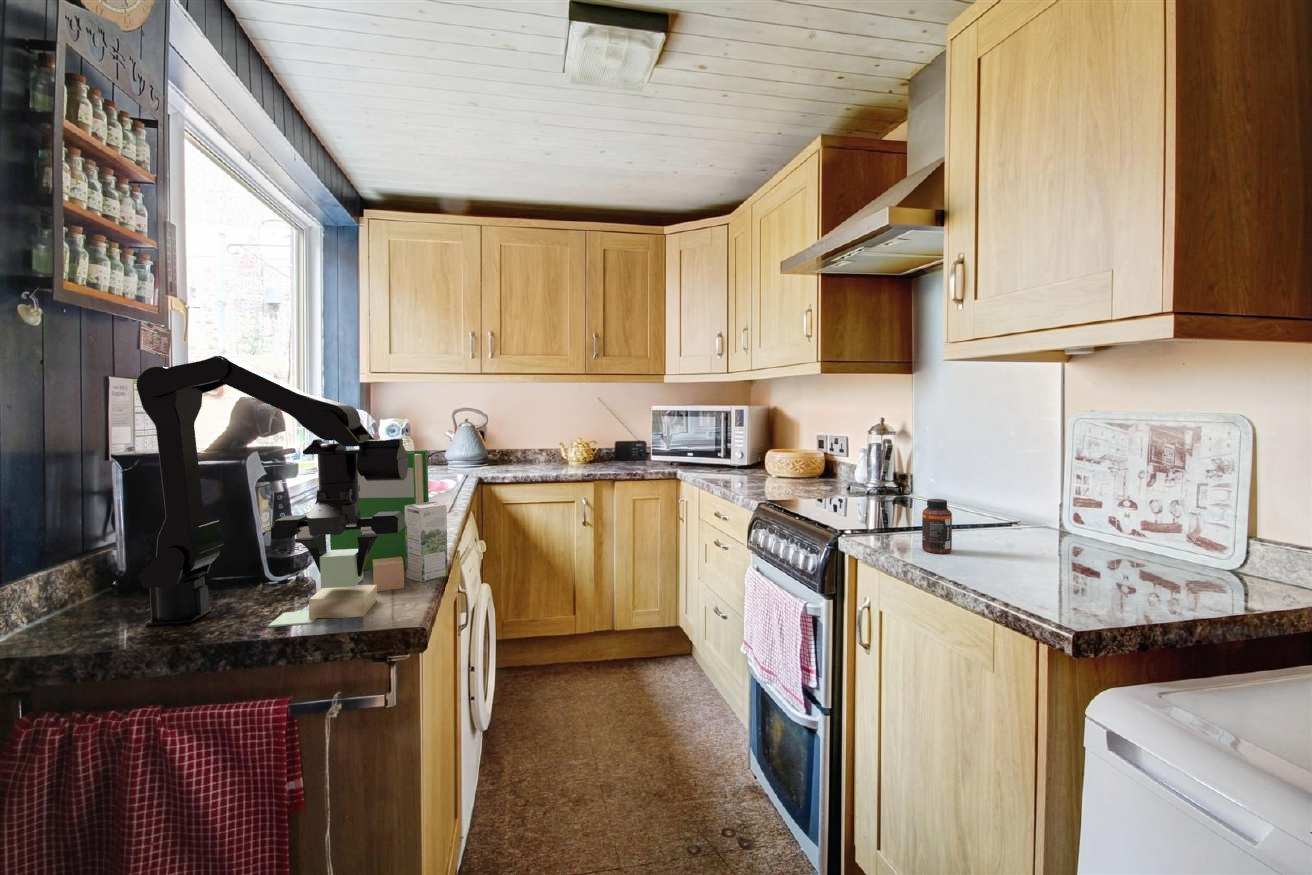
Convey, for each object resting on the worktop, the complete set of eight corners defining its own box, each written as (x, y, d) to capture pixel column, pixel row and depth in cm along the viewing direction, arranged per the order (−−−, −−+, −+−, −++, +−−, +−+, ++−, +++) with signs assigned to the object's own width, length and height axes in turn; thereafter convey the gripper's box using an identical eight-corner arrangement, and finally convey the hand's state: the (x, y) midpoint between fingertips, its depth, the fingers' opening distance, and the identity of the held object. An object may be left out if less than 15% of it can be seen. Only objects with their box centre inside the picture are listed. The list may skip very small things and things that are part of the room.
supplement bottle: (956, 554, 135) (957, 501, 134) (928, 554, 135) (929, 502, 134) (944, 547, 141) (944, 497, 140) (917, 548, 141) (917, 498, 140)
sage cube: (320, 588, 100) (319, 557, 99) (331, 579, 105) (330, 550, 104) (354, 586, 101) (353, 555, 100) (363, 578, 105) (362, 548, 105)
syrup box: (432, 572, 126) (430, 500, 126) (449, 577, 123) (446, 503, 122) (405, 578, 122) (403, 504, 121) (422, 583, 118) (419, 507, 117)
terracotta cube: (374, 593, 113) (373, 565, 113) (373, 586, 117) (372, 559, 117) (404, 589, 115) (403, 562, 115) (402, 582, 120) (401, 556, 119)
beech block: (308, 617, 98) (309, 598, 98) (325, 602, 106) (326, 584, 106) (363, 617, 100) (364, 598, 99) (376, 602, 107) (376, 584, 107)
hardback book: (430, 561, 135) (427, 450, 134) (416, 570, 128) (412, 452, 127) (350, 562, 136) (345, 451, 135) (331, 571, 129) (326, 454, 127)
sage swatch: (268, 627, 95) (268, 625, 95) (284, 615, 101) (283, 612, 101) (311, 624, 96) (311, 622, 96) (324, 612, 102) (324, 609, 102)
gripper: (253, 490, 92) (257, 595, 93) (388, 485, 95) (391, 587, 96) (283, 481, 103) (287, 575, 104) (403, 477, 106) (406, 568, 107)
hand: (342, 577), depth 102 cm, fingers closed on sage cube, 5 cm apart
